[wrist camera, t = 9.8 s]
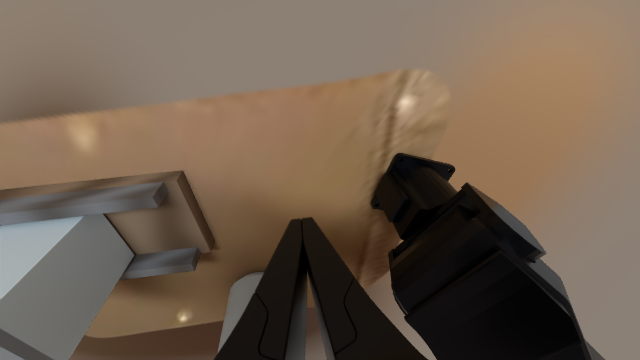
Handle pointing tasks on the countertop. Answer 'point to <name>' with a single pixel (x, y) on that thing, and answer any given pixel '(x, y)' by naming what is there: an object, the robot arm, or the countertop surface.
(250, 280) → the can
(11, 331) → the grey rectangular box
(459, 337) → the robot arm
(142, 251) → the grey rail holder
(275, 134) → the countertop surface
